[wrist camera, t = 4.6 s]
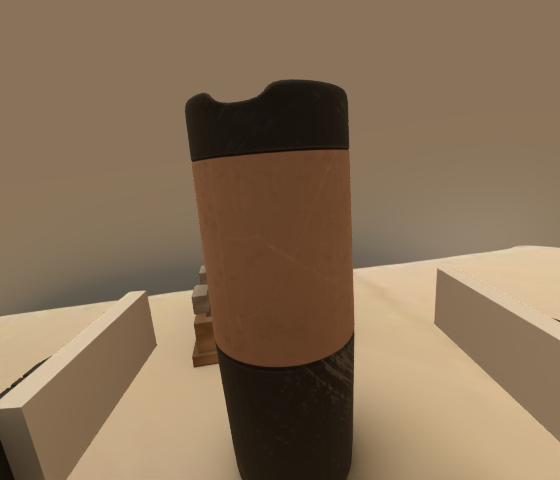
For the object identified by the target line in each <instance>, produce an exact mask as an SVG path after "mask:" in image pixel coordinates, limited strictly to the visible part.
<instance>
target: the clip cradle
mask: <svg viewBox="0 0 560 480" xmlns="http://www.w3.org/2000/svg"><path fill="white" fill-rule="evenodd" d="M199 276H200V283H201V285H197V286H195V288H194V291H193V294H192V303H193V309H194V314H196V317H195V322H194V328H195V334H196V342H195V347H194V351H193V356H192V359H193V365H194V367H196V366H202V365H208V364H214V363H219V361H218V355H217V350H216V344H215V337H214V331H213V324H212V316H211V308H210V301H209V293H208V285H207V277H206V270H205V266H201V269H200V273H199Z"/></svg>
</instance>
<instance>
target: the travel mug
mask: <svg viewBox="0 0 560 480" xmlns="http://www.w3.org/2000/svg"><path fill="white" fill-rule="evenodd" d="M185 114H186V124H187V131H188V139H189V147H190V155H191V161H192V162H193V163H192V170H193V177H194V185H195V193H196V201H197V208H198V216H199V224H200V231H201V239H202V246H203V254H204V262H205V270H206V277H207V285H208V293H209V301H210V308H211V316H212V324H213V331H214V337H215V344H216V350H217V355H218V361H219V367H220V372H221V378H222V384H223V389H224V395H225V400H226V406H227V412H228V417H229V423H230V429H231V434H232V440H233V445H234V450H235V455H236V460H237V465H238V469H239V472H240V475H241V478H242V479H243V480H345V479H346V477H347V475H348V472H349V469H350V465H351V457H352V439H353V384H354V295H353V266H352V265H353V263H352V228H351V195H350V161H349V151H348V149H349V129H348V128H349V126H348V100H347V95H346V93H345V91H344V90H343V89H342V88H340V87H338V86H336V85H333V84H330V83H325V82H320V81H313V80H293V79H290V80H279V81H275V82H272V83H271V84H269V85H268V86H267V87H266V88H265V90H264V91H263V92H262V93H261V94H260V95H258V96H257V97H255V98H252V99H249V100H245V101H240V102H232V103H222V102H218V101H215V100H214V99H213V98H211V96H210V95H209V94H207V93H200V94H197V95H195V96H194V97H192V98H191V99H189V100H188V101H187V103H186V106H185Z"/></svg>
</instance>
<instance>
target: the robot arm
mask: <svg viewBox="0 0 560 480" xmlns="http://www.w3.org/2000/svg"><path fill="white" fill-rule="evenodd" d="M434 324H435V325H436V326H438V327H439V328H440V329H441V330H442V331H443V332H444V333H445V334H446V335H447V336H448V337H449V338H450V339H451V340H452V341H453V342H455V343H456V344H457V345H458V346H459V347H460V348H461V349H462V350H463V351H464V352H465V353H466V354H467V355H468V356H469V357H470V358H471V359H473V360H474V361H475V362H476V363H477V364H478V365H479V366H480V367H481V368H482V369H483V370H484V371H485V372H486V373H487V374H488V375H489V376H491V377H492V378H493V379H494V380H495V381H496V382H497V383H498V384H499V385H500V386H501V387H502V388H503V389H504V390H505V391H506V392H508V393H509V394H510V395H511V396H512V397H513V398H514V399H515V400H516V401H517V402H518V403H519V404H520V405H521V406H522V407H523V408H524V409H526V410H527V411H528V412H529V413H530V414H531V415H532V416H533V417H534V418H535V419H536V420H537V421H538V422H539V423H540V424H541V425H542V426H544V427H545V428H546V429H547V430H548V431H549V432H550V433H551V434H552V435H553V436H554V437H555V438H556V439H557V440H558V441H559V442H560V320H557V319H554V318H551V317H549V316H547V315H545V314H543V313H541V312H539V311H537V310H535V309H534V308H532V307H530V306H528V305H526V304H524V303H522V302H520V301H518V300H516V299H514V298H513V297H511V296H509V295H507V294H505V293H503V292H501V291H499V290H497V289H495V288H494V287H492V286H490V285H488V284H486V283H484V282H482V281H480V280H478V279H476V278H475V277H473V276H471V275H469V274H467V273H465V272H463V271H461V270H459V269H457V268H455V267H446V268H437V283H436V302H435V322H434ZM156 346H157V344H156V338H155V333H154V328H153V323H152V318H151V312H150V307H149V302H148V297H147V292H146V291H136V292H129V293H128V294H126V295H125V296H124V297H123V298H121V299H120V300H119V301H118V302H117V303H115V304H114V305H113V306H112V307H111V308H109V309H108V310H107V311H106V312H105V313H103V314H102V315H101V316H100V317H99V318H97V319H96V320H95V321H94V322H93V323H91V324H90V325H89V326H88V327H87V328H85V329H84V330H83V331H82V332H81V333H79V334H78V335H77V336H76V337H75V338H73V339H72V340H71V341H70V342H68V343H67V344H66V345H65V346H64V347H62V348H61V349H60V350H59V351H58V352H56V353H55V354H54V355H52V356H51V357H49V358H47V359H45V360H43V361H42V362H40V363H38V364H37V365H35V366H34V367H33V368H32V369H30V370H29V371H28V372H27V373H26V374H24V375H23V378H19V379H18V380H17V381H16V382H14V383H13V384H12V385H11V387H10V388H7V389H6V390H5V391H3V392H2V393H1V394H0V480H66V479H67V478H68V476H69V475H70V473H71V472H72V470H73V469H74V467H75V466H76V464H77V463H78V461H79V460H80V458H81V457H82V455H83V454H84V452H85V451H86V449H87V448H88V446H89V445H90V443H91V442H92V440H93V439H94V438H95V436H96V435H97V433H98V432H99V430H100V429H101V427H102V426H103V424H104V423H105V421H106V420H107V418H108V417H109V415H110V414H111V412H112V411H113V409H114V408H115V406H116V405H117V403H118V402H119V401H120V399H121V398H122V396H123V395H124V393H125V392H126V390H127V389H128V387H129V386H130V384H131V383H132V381H133V380H134V378H135V377H136V375H137V374H138V372H139V371H140V369H141V368H142V366H143V365H144V363H145V362H146V361H147V359H148V358H149V356H150V355H151V353H152V352H153V350H154V349H155V347H156Z"/></svg>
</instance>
